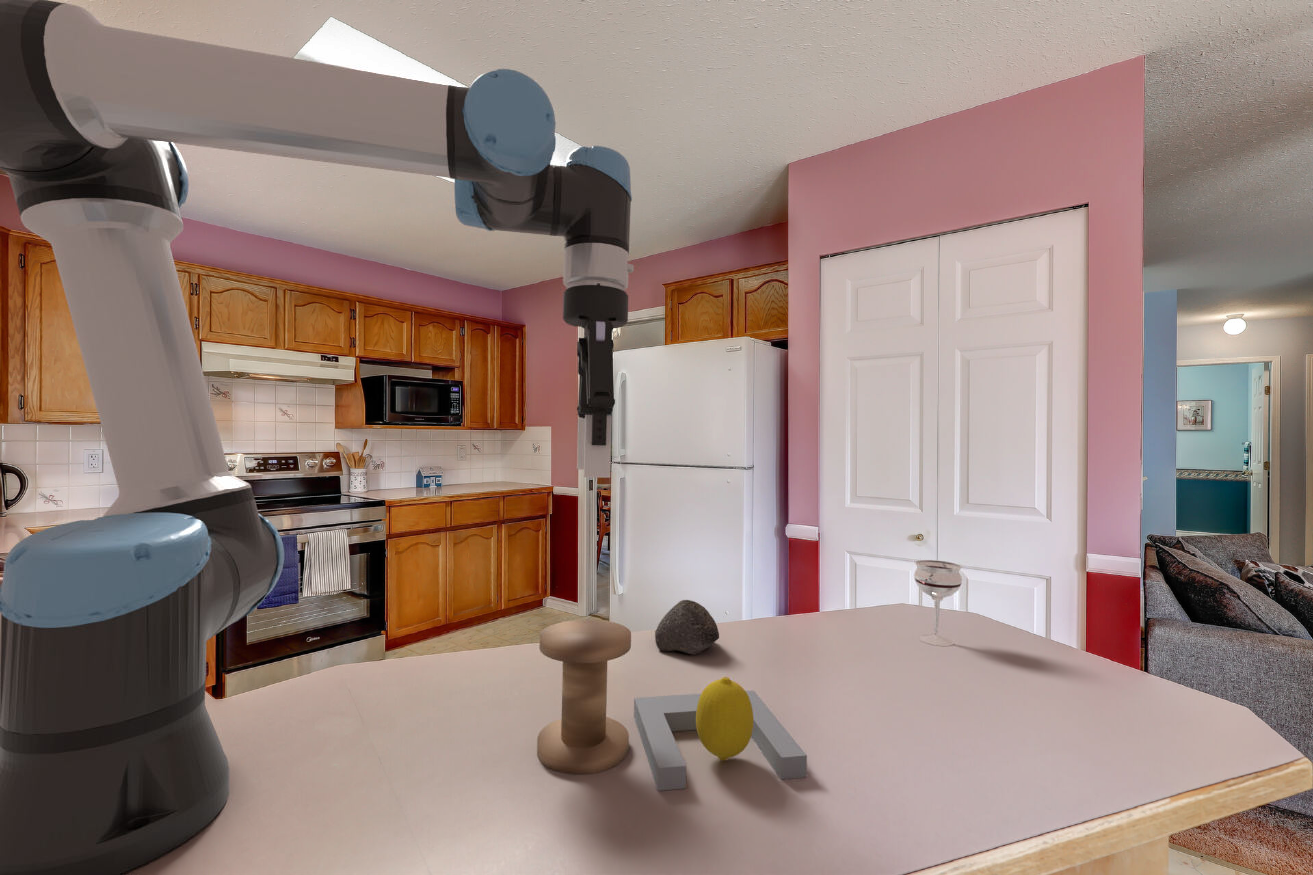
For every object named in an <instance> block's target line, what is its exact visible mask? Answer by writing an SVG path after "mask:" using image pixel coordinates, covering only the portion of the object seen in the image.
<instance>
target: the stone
mask: <svg viewBox="0 0 1313 875" xmlns="http://www.w3.org/2000/svg"><path fill="white" fill-rule="evenodd" d="M654 639H655V640H654V641H655V645H656V647H657V648H658V650H659V651H661V652H662V653H663V652H670V651H679V652H682V653H684V654H687V655H692V656H695V655H698V653H701V652H702V651H704V650H706V649H708V648H709V647H711V646H712V645H713V644H714V643H715V642H716V641H717V640H718V639H720V633H719V629H718V626H717V622H716V621H715V619H714V618H713V616H712V615H711V613H710V612H709V611H708V610H707V609H706V607H705V606H703V605H702V604H700V603H699V602H696V601H695V600H694V601H693V600H691V599H682V600H680V601H679V602H678V603H676V604H675V605H674V606H672V608H670V610H668V612H666V614H665V615H664V616H663V618H661V620H660V622H659V623H658V625H657V627H656V629H655V630H654Z"/></svg>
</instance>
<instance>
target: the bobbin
mask: <svg viewBox="0 0 1313 875" xmlns="http://www.w3.org/2000/svg"><path fill="white" fill-rule="evenodd" d="M538 648H539V650H540V651H539V652H540V653H541V654H542V655H544V656H545V657H547V658H549V659H551V660H555V661H557V662H562V678H561V680H562V682H561V684H562V685H561V718H558V719H556V720H554V721H552V722H550V723H549V724H547V725H545V726H544V727H542V729H541V730H539V733H538V734H537V737H536V738H537V740H536V741H537V742H536V743H537V744H536V754H537V755H536V756H537V758H538V759H539V762H540V763H541V764H543V765H544V766H545V767H547V768H549V769H551V770H553V771H556V772H560V773H563V774H569V775H590V774H596V773H600V772H601V773H602V772H604V771H606V770H609V769H611V768H613V767H615V766H617V765H619V764H620V763H621V762H622V761H624V759H625V758H626V757H627V755H628V753H629V749H630V748H629V746H630V744H629V742H630V741H629V740H630V735H629V731H628V729H627V728H626V726H624V725H623V724H622V723H621V722H619V721H617V720H616V719H614V718H611V717H607V702H608V701H607V699H608V698H607V693H608V691H607V690H608V688H607V687H608V662H609V661H611V660H615V659H618V658H620V657H623V656H624V655H626V654H627V653H629V651H630V650H631V648H632V632H631V631H630V629H629V628H628V627H627V626H625V625H623V624H620V623H617V622H614V621H610V620H602V619H573V620H567V621H566V620H565V621H561V622H557V623H554V624H552V625H548V626H547V627H544V629H542V630H540V634H539V647H538Z"/></svg>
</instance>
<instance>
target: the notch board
mask: <svg viewBox="0 0 1313 875" xmlns="http://www.w3.org/2000/svg"><path fill="white" fill-rule="evenodd" d="M745 691H746V693H747V694H748V696H749V699H750V702H751V705H752V710H753V730H752V735H751V738H752V739H753V741H754V742H755V744H756V745H757V747H758V748H759V750H760V751H761V752H762V754H763V755H764V757H765V758H766V760H767V761H768V763H769V765H770V766H771V767H772V768H773V770H774V771H775V773H776V774H777V776H778V778H779V779H780V780H790V779H797V778H798V779H799V778H807V773H808V772H807V769H808V768H807V766H808V765H807V764H808V755H807V754H806V752H805V751H804V750H803V749H802V748H801V747H800V744H798V743H797V742H796V740H795V739H794V737H792V736H791V734H790V733H789V732H788V730H786V728H785V727H784V726H783V725H782V723H781V722H780V720H779V719H778V718H777V717H776V716H775V714H773V712H772V711H771V709H770V708H769V707H768V706H767V705H766V704H765V702H764V701H763V700H762V698H761V697H760V696H759V695H758V694H757V693H756V691H755V690H745ZM700 695H701V693H693V694H676V695H675V694H674V695H658V696H643V697H642V696H641V697H634V700H633V717H634V721H635V724H636V727H637V731H638V733H639V737H640V739H641V743H642V745H643V749H644V751H645V755H646V758H647V761H648V765H649V767H650V771H651V774H652V776H653V780H654V783H655V788H656V790H657V791H659V792H660V791H669V790H680V789H681V790H682V789H686V787H687V786H686V784H687V783H686V781H687V780H686V779H687V778H686V777H687V776H686V775H687V765H686V762H685V760H684V758H683V756H682V753H681V751H680V749H679V746H678V743H677V742H676V738H675V737H674V735H673V733H672V732H682V731H684V732H685V731H693V730H694V731H697V728H696V711H697V705H698V701H699V698H700Z"/></svg>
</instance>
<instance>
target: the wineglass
mask: <svg viewBox="0 0 1313 875" xmlns="http://www.w3.org/2000/svg"><path fill="white" fill-rule="evenodd" d="M914 563H915V566H916V567H917V568H916V569H915V571H914V581H915V583H916V585H917V586H918V588H919V589H920V590H921V591H922V592H923V593H924V594H925V595H928V596H929V597H931V600H932V601H933V602H934V634H925V635H924V634H923V635H921V636H919V637H918V639H919V640H920V641H921V642H923V643H925V644H929V645H933V646H937V647H938V646H939V647H951V646H952V645H954V644H955V643H954V641H952V640H951V639H950V638H947V637H944V636H941V635H939V634H938V633H939V620H940V617H939V616H940V607H941V606H940V605H941V601H943V599H944V598H948V597H951V596H953V595H955V593H957V592H958V591H959V590H960V588H961V585H962V581H963V578H962V575H961V573H960V571H961V569H962V565H960V564H958V563H954V562H950V561H943V560H937V559H936V560H935V559H934V560H932V559H923V560H922V559H920V560H919V559H918V560H916V561H914Z"/></svg>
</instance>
